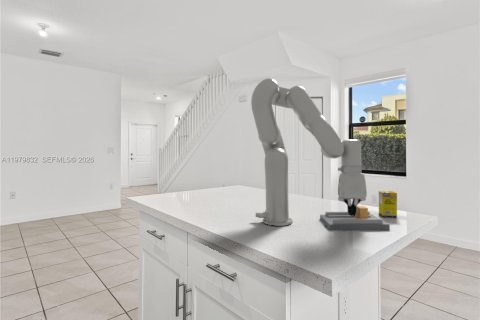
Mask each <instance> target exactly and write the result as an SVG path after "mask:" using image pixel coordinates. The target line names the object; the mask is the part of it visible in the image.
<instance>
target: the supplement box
mask: <svg viewBox="0 0 480 320" xmlns="http://www.w3.org/2000/svg"><path fill="white" fill-rule="evenodd" d="M378 215H380V216H381V217H382V218H394V219H395V218H398V193H397V192H396V191H392V190H378Z"/></svg>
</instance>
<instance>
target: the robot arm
mask: <svg viewBox="0 0 480 320" xmlns="http://www.w3.org/2000/svg"><path fill="white" fill-rule="evenodd" d="M250 104H251V111H252V115H253V119H254V123H255V126H256V129H257V134H258V139H259V141H260V142H261V144H262V148H263V151H264V155H265V156H264V175H265V181H264V183H265V210H264V211H262V212H255V218H258V219H262V223H263V222H264V223H265V224H264V223H263V224H264V225H267V224H268V225H267V226H271V225H274V226H273V227H283V226H284V227H285V226H290V225H291V224H292V223H293V219H292V218H290V216H289V215H290V214H289V213H290V212H289V211H290V210H289V208H290V207H289V157H288V153H287V151H286V147H285V143H284V140H283V136H282V132H281V129H280V128H279V125H278V124H277V120H276V117H275V114H274V113H275V112H274V109H273V106H277V107H282V108H286V109H290V110H291V109H292V110H293V113H294V114H295V115H296V117H297V118H298V120H299V121H300V123H301V124H302V126H303V127H304V128H305V130H307V131H308V132H310V133H311V135H312V136H313V137H314V138H315V140H316V141H317V143H318V145H319V146H320V152H321V154H322V155H323V156H324V157H325V158H328V159H339V158H340V159H341V162H340V164H341V165H340V166H339V167H337V171H338V172H341V173H339V177H338V184H337V185H338V187H337V195H338V197H337V200H338V201H340V202H344V204H345V205H347V211H348V213H349V215H350V216H355V213H356V206H359V204H360V203H362V202H365V201H366V200H367V197H368V196H367V193H368V192H367V183H366V178H365V177H366V176H365V173H364V172H363V173H362V166H363V165H362V141H361V140H360V139H344V140H341V138H340V137H339V135H338V133H337V132H336V131H335V130H334V128H333V127H332V125H331V124H330V122H328V121H327V119H326V118H325V116H324V115H323V114H322V113H321V111H320V110H319V108H318V107H317V106H316V104H315V103H314V100H313V99H312V98H311V96H310V94H309V93H308V91H307V90H306V89H305V88H304V87H303V86H301V85H294V86H292V87H290V88H286V87H282V86H280V85H279V83H278V82H277V81H276V80H275V79H274V78H271V77H270V78H265V79H262V80H261V81H260V82H259V83H257V85H256V86H255V88H254V90H253V92H252V96H251V102H250Z"/></svg>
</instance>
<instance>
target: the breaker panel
mask: <svg viewBox="0 0 480 320" xmlns="http://www.w3.org/2000/svg"><path fill="white" fill-rule="evenodd" d="M368 218H378V216H375V215H374V214H373V213H372V214H370V215H368ZM319 219H320V221H321V222H322V223H323V224H324V225H325V226H326V227H327V228H328V230H330V231H353V230H354V231H359V230H360V231H363V230H364V231H379V230H381V231H383V230H384V231H386V230H388V231H390V225H391V224H390V223H388V222H386V221H384V220H383V224H334V223H333V219H358V218H356V215H355V216H350V215H337V216H326V215H325V214H320V215H319Z"/></svg>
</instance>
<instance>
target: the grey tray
mask: <svg viewBox="0 0 480 320" xmlns="http://www.w3.org/2000/svg"><path fill="white" fill-rule="evenodd" d="M370 213H371V212H370V211H368V215H370ZM324 215H326V216H337V215H349V213H348V210H347V211H346V210H345V211H325V214H324ZM355 215H356V213H355ZM383 221H384V219H382V218H380V217H377V218H358V219H333V223H334V224H383Z"/></svg>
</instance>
